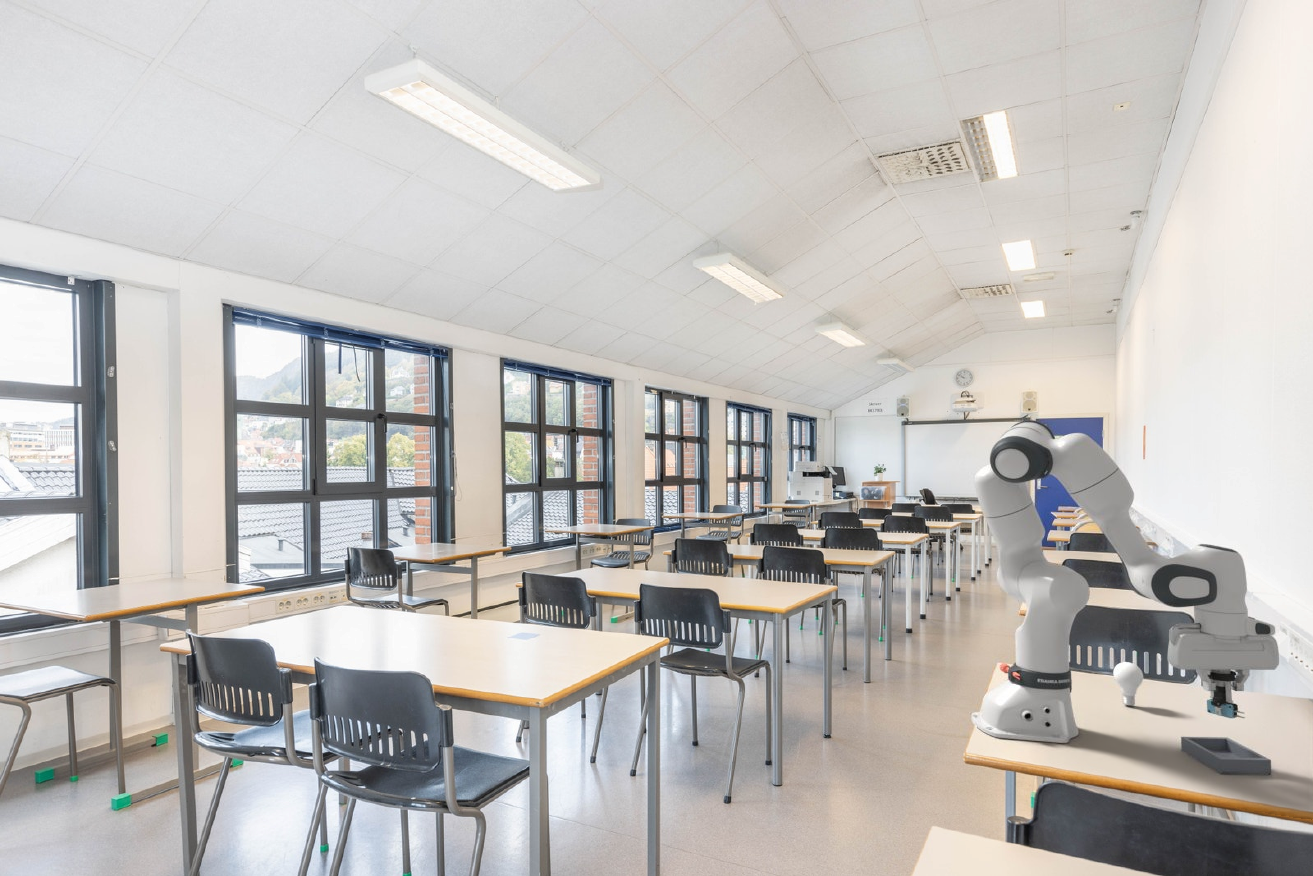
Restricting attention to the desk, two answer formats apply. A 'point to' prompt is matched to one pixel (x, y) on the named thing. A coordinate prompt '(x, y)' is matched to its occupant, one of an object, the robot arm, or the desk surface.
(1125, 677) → the lightbulb
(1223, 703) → the push button
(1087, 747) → the desk surface
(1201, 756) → the tray
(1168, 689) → the desk surface
